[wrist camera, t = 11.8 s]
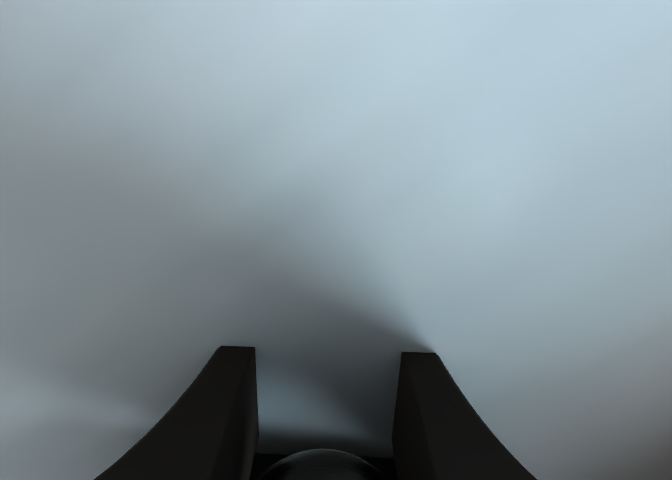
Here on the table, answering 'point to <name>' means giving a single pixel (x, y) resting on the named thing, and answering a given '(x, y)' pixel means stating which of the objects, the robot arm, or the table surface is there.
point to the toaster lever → (322, 467)
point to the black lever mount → (266, 461)
